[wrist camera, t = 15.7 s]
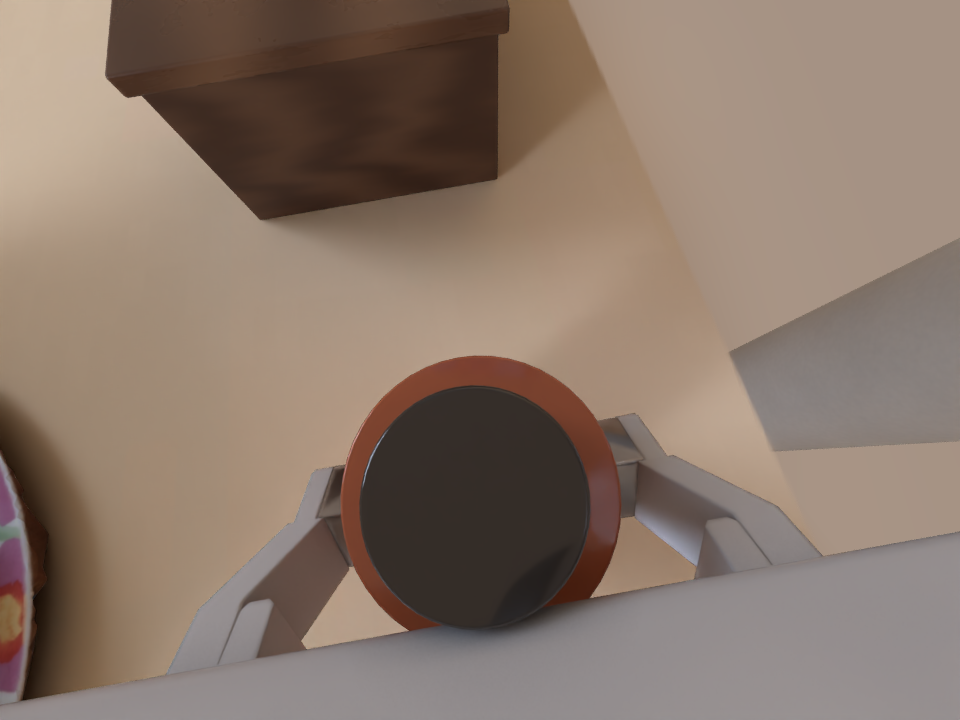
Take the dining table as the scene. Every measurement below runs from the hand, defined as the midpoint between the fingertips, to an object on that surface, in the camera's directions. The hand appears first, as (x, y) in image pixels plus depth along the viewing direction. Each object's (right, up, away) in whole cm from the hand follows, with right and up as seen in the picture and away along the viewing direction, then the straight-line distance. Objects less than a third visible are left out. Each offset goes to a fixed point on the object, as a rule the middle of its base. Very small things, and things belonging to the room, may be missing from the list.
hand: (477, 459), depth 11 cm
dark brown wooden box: (-6, +18, +12) cm, 23 cm away
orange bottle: (0, -2, +6) cm, 6 cm away
